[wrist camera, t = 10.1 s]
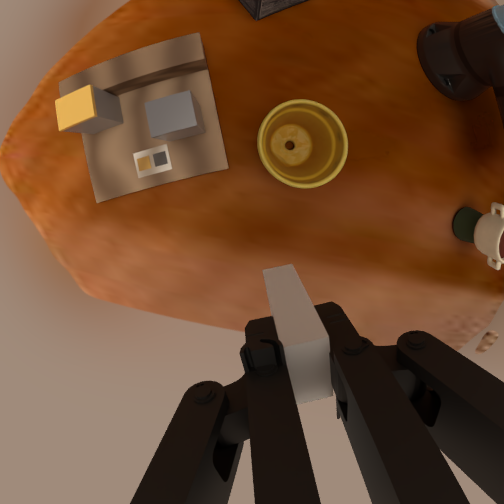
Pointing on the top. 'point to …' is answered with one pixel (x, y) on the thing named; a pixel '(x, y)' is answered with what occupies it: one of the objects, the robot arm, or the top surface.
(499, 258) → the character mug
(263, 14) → the small box
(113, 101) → the button
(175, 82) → the console
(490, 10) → the robot arm
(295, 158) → the plant pot
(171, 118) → the button
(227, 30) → the top surface
